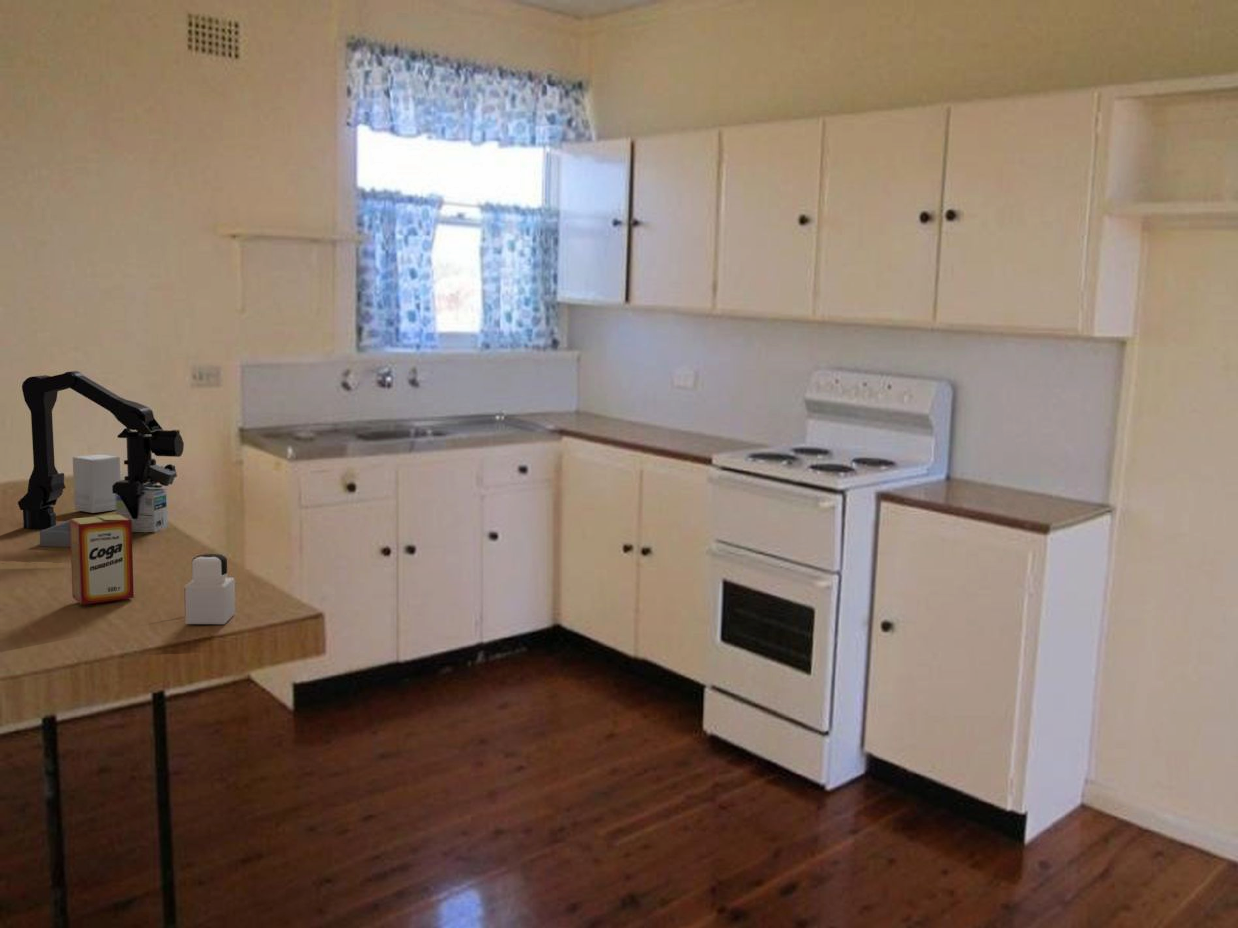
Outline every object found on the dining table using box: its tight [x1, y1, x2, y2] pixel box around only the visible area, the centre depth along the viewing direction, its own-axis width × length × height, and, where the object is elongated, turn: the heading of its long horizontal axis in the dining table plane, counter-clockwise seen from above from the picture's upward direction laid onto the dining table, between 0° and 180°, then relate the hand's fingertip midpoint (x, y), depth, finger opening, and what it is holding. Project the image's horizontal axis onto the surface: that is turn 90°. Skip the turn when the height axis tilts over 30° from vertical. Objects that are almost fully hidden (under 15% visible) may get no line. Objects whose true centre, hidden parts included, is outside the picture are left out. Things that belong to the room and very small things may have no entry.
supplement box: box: [72, 454, 122, 514], centre depth 300 cm, size 9×9×15 cm
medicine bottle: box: [184, 553, 236, 625], centre depth 199 cm, size 7×7×12 cm
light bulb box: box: [115, 487, 169, 533], centre depth 275 cm, size 11×7×11 cm, turn 84°
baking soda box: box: [69, 514, 134, 606], centre depth 211 cm, size 10×6×16 cm
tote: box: [39, 519, 134, 548], centre depth 262 cm, size 15×15×4 cm
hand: (141, 516), depth 275 cm, fingers closed on light bulb box, 7 cm apart
